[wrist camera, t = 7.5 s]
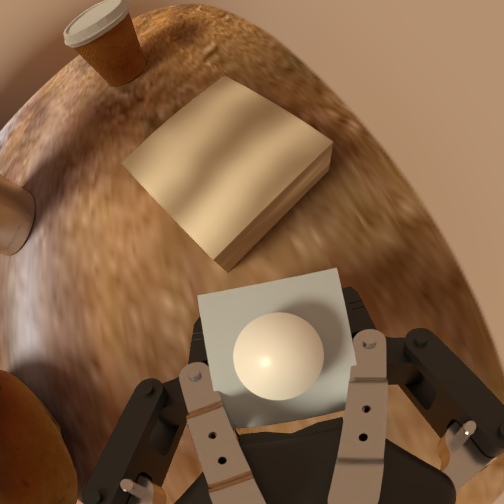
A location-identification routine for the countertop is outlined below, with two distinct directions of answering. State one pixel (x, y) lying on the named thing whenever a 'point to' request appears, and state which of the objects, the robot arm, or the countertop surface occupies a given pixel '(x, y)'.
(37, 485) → the ceramic pitcher
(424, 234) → the countertop surface
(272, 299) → the grey box with knob
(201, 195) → the birch block
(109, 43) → the disposable coffee cup
